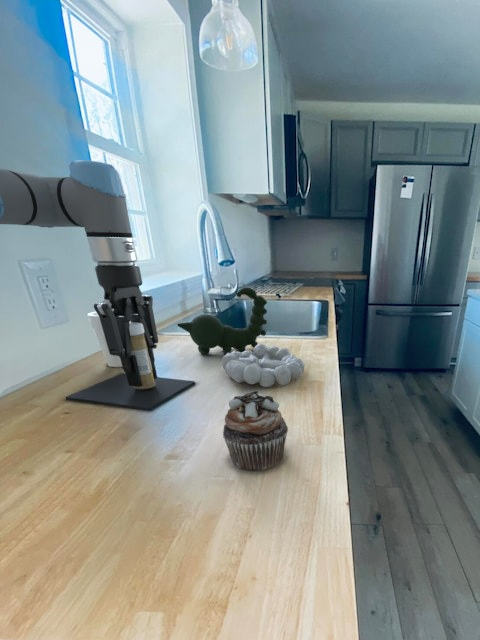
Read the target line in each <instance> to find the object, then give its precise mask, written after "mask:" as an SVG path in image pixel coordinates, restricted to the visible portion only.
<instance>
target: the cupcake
mask: <svg viewBox="0 0 480 640" xmlns="http://www.w3.org/2000/svg"><path fill="white" fill-rule="evenodd" d="M228 406H229V409H228V410H227V413H226V414H225V416H224V423H225V424H224V425H223V431H222V438H223V440H224V442H225V444H226V447H227V450H228V452H229V456H230V459H231V461H232V463H233V465H234V466H235V467H237V468H239V470H240V469H241V470H243V471H247V472H260V471H265V470H268V469H273V468H274V467H276V466H278V465H279V463H281V462H282V461H283V457H284V452H285V444H286V440H287V436H288V431H289V429H288V428H289V426H288V425H287V423H286V420H285V418H284V417H283V415H282V413H281V411H280V410H279V407H280V403H279V401H277V400H274V397H273V396H270V395H265V396H264V395H263V394H262V393H260V392H259V390H253V391H250V392H247V393H245V394H243V395H238V396H237V395H235V396H234V397H233V399H232V398H231V399H229V400H228Z"/></svg>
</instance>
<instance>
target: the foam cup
mask: <svg viewBox="0 0 480 640" xmlns="http://www.w3.org/2000/svg"><path fill="white" fill-rule="evenodd" d="M86 316H87V319H88V323H89V325H90V327H91V328H92V330H93V333H94V335H95V337H96V340H97V343H98V345H99V347H100V349H101V351H102V355H103V356H104V359H105V361H106V363H107V365H108V366H109V367H110V368H111V367H113V368H123V367H122V363H121V359H120V357H119V356H115V355H110V353H109V350H108V346H107V342H106V339H105V335H104V332H103V328H102V325H101V321H100V318H99V315H98V314H97V312H96V310H94V311H91V312H88V313H87V314H86ZM119 317H124V316H119ZM130 322H131V321H130ZM130 322H129V323H130Z"/></svg>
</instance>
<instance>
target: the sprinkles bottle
mask: <svg viewBox="0 0 480 640" xmlns="http://www.w3.org/2000/svg"><path fill="white" fill-rule="evenodd" d="M129 331H130V339H131V353H132V354H131V355H135V357H136V361H137V365H138V370H139V374H140V378H141V383H142V386H141V387H137V386H133V387H134V388H135V389H149V388H152V387H154V386H155V385H156V383H155V381H154V377H153V372H152V366H151V361H150V357H149V354H148V349H147V345H146V341H145V337H144V327H143V324H142V323H136V322H130V323H129Z"/></svg>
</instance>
